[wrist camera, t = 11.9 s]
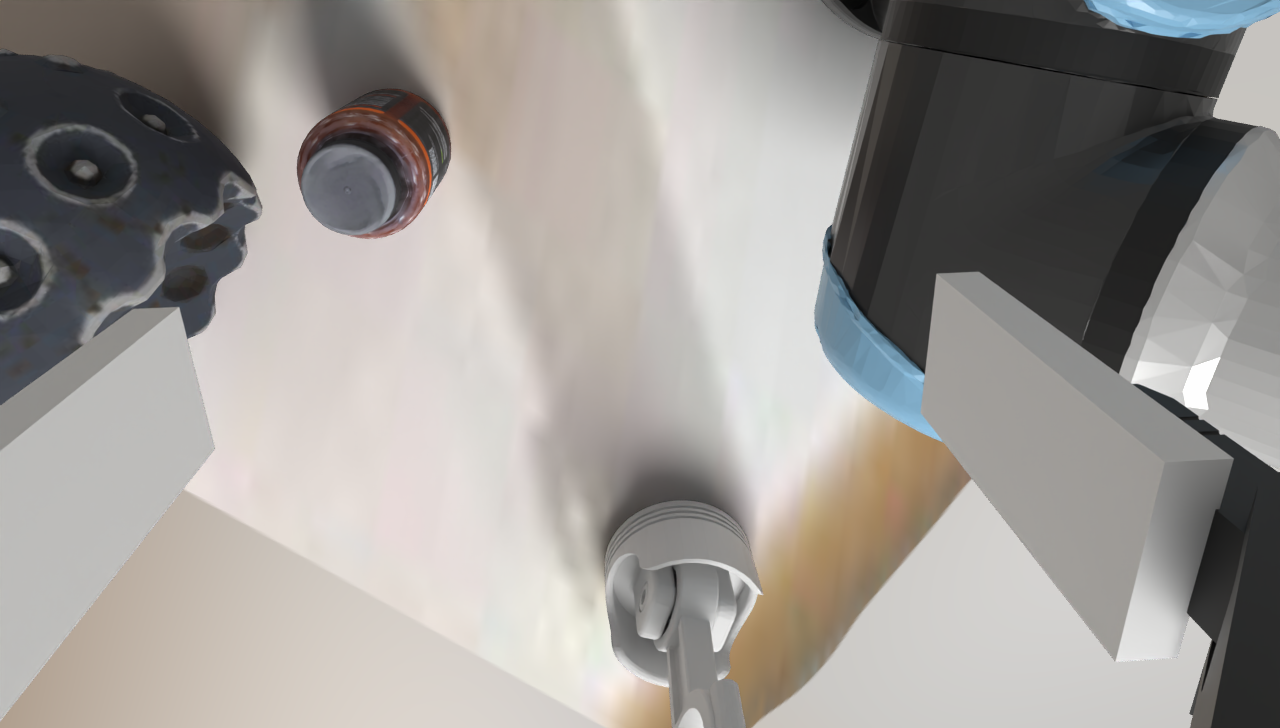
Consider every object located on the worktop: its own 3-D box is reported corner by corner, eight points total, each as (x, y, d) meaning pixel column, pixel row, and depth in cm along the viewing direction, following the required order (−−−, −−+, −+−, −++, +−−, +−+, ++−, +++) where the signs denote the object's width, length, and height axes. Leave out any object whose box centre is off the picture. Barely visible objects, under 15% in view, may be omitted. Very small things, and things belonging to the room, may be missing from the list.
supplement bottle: (318, 131, 47) (243, 174, 37) (402, 63, 46) (349, 87, 36) (394, 219, 49) (343, 282, 39) (476, 156, 48) (446, 204, 38)
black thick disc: (-13, 320, 50) (-355, 514, 32) (124, 11, 44) (-200, 32, 26) (168, 412, 53) (-50, 638, 35) (320, 134, 47) (152, 230, 29)
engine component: (771, 518, 59) (629, 485, 57) (858, 770, 40) (650, 731, 38) (718, 642, 63) (583, 614, 61) (774, 923, 44) (583, 894, 42)
